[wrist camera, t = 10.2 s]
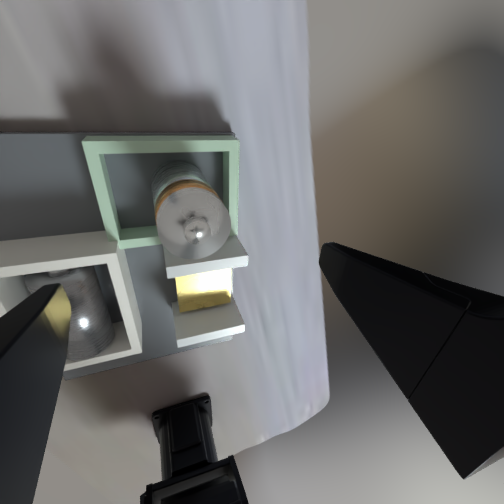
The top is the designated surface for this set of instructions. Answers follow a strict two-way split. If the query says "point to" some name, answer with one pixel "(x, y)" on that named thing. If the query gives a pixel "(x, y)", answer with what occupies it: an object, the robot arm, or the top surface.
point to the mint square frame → (115, 232)
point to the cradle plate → (203, 290)
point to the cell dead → (80, 309)
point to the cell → (188, 211)
